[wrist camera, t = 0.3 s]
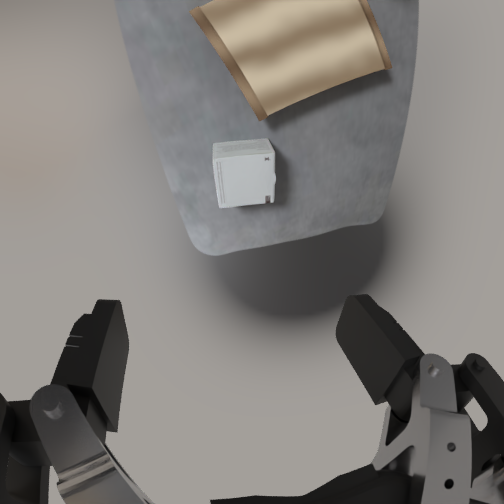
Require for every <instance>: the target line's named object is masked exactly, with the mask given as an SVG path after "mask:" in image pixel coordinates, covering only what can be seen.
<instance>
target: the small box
mask: <svg viewBox="0 0 504 504" xmlns="http://www.w3.org/2000/svg"><path fill="white" fill-rule="evenodd" d="M213 170H214V178H215V185H216V192H217V198H218V204H219V208H227V207H236V206H244V205H253V204H264V203H273V202H274V197H275V182H276V175H275V151H274V149H273V147H272V145H271V143H270V141H269V139H268V138H266V139H255V140H242V141H230V142H221V143H214V144H213Z"/></svg>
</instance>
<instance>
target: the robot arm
mask: <svg viewBox="0 0 504 504" xmlns="http://www.w3.org/2000/svg"><path fill="white" fill-rule="evenodd" d="M336 338H337V341H338V343H339V345H340V346H341V348H342V350H343V352H344V353H345V355H346V356H347V358H348V360H349V361H350V363H351V365H352V366H353V368H354V370H355V371H356V373H357V375H358V376H359V378H360V380H361V382H362V383H363V385H364V386H365V388H366V390H367V391H368V393H369V395H370V396H371V398H372V400H373V402H374V403H375V405H378V404H380V403H384V402H386V401H387V402H388V403H389V406H388V407H387V409H386V412H385V418H384V424H383V429H382V435H381V440H380V445H379V449H378V452H377V454H376V456H375V457H374V459H373V461H372V462H371V464H369V465H367V466H364V467H362V468H359V469H357V470H354V471H351V472H349V473H346V474H343V475H340V476H338V477H336V478H334V479H333V480H331V481H329V482H328V483H326V484H324V485H322V486H321V487H319V488H317V489H315V490H314V491H312V492H310V493H308V494H306V495H303V496H294V497H292V496H291V497H283V496H248V497H240V498H231V499H218V500H210V502H211V504H504V382H503V380H502V379H501V377H500V376H499V375H498V374H497V372H496V371H495V370H494V369H493V368H492V366H491V365H490V364H489V363H488V361H487V360H486V359H485V358H484V357H482V356H480V355H478V354H475V353H471V354H468V355H467V356H466V358H465V359H464V361H463V362H462V364H460V365H450V364H449V362H447V360H446V359H444V358H443V357H441V356H439V355H436V354H426V355H425V354H424V353H423V352H422V350H421V349H420V348H419V347H418V346H417V345H416V343H415V342H414V341H413V340H412V339H411V337H410V336H409V335H408V334H407V333H406V331H405V330H403V328H402V327H401V326H400V325H399V323H397V321H396V320H395V319H394V318H393V317H392V315H391V314H389V312H387V311H386V310H384V309H383V308H381V307H380V306H378V305H377V303H376V302H375V301H374V300H373V299H372V298H371V297H370V296H369V295H368V294H362V295H350V296H348V297H347V299H346V301H345V304H344V307H343V310H342V313H341V316H340V318H339V321H338V324H337V327H336ZM128 351H129V339H128V334H127V328H126V324H125V319H124V315H123V310H122V305H121V302H120V300H102V299H99V300H97V302H96V304H95V307H94V309H93V311H92V314H84V315H83V316H81V317H80V318H79V319H78V321H76V322H75V323H74V326H73V328H72V330H71V332H70V337H69V338H68V339H67V342H66V347H64V349H63V352H62V354H61V357H60V359H59V362H58V365H57V367H56V370H55V373H54V376H53V379H52V381H51V384H50V385H46V386H44V387H41V388H40V389H39V390H37V391H36V392H35V393H34V395H33V396H32V398H31V400H23V401H9V402H7V401H6V399H5V398H4V397H3V396H2V394H1V393H0V504H48V491H49V471H50V470H49V469H50V466H53V467H54V469H55V471H56V473H57V475H58V478H59V482H57V488H58V490H59V493H60V495H61V497H62V499H63V500H64V502H65V504H154V503H153V502H152V501H151V500H150V499H149V498H148V496H147V495H146V494H145V493H144V492H143V491H142V490H141V489H140V488H139V487H138V486H137V484H136V483H135V482H134V481H133V480H132V478H131V477H130V476H129V475H128V473H127V472H126V471H125V470H124V468H123V467H122V466H121V464H120V463H119V462H118V460H117V459H116V457H115V456H114V455H113V453H112V452H111V450H110V449H109V447H108V446H107V444H106V443H105V439H106V431H110V432H117V429H118V420H119V411H120V403H121V394H122V388H123V382H124V374H125V369H126V363H127V357H128ZM473 397H474V398H475V399H476V400H477V402H478V403H479V405H480V406H481V408H482V409H483V411H484V412H485V414H486V415H487V418H488V423H487V426H486V427H485V428H484V429H483V430H482V431H479V430H478V429H477V427H476V426H475V424H474V422H473V421H472V419H471V418H470V416H469V415H468V413H467V412H466V410H465V409H464V407H465V406H466V405H467V404H468V403H469V402H470V401H471V399H472V398H473ZM8 458H9V459H8ZM7 465H8V466H7ZM6 473H7V474H6ZM470 488H471V489H470Z"/></svg>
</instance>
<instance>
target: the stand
mask: <svg viewBox="0 0 504 504" xmlns="http://www.w3.org/2000/svg"><path fill="white" fill-rule="evenodd" d="M189 12H190V14H191V15H192V17H193V18H194V19H195V21H196V22H197V24H198V25H199V26H200V28H201V29H202V31H203V32H204V34H205V35H206V36H207V38H208V39H209V41H210V42H211V44H212V45H213V47H214V48H215V50H216V51H217V53H218V54H219V56H220V57H221V59H222V60H223V62H224V64H225V65H226V67H227V68H228V70H229V71H230V73H231V75H232V76H233V78H234V79H235V81H236V83H237V84H238V86H239V87H240V89H241V91H242V92H243V94H244V96H245V97H246V99H247V101H248V102H249V104H250V106H251V107H252V109H253V111H254V113H255V114H256V116H257V118H258V119H259V121H261V120H263V119H265V118H267V117H268V115H270V114H272V113H274V112H276V111H278V110H280V109H283V108H285V107H287V106H289V105H291V104H293V103H296V102H298V101H300V100H302V99H305V98H307V97H309V96H312V95H314V94H316V93H319V92H321V91H324V90H326V89H329V88H331V87H334V86H336V85H339V84H342V83H344V82H347V81H350V80H353V79H355V78H358V77H361V76H364V75H367V74H370V73H373V72H376V71H379V70H382V69H384V70H387V69H390V68H392V65H391V62H390V59H389V56H388V53H387V50H386V47H385V44H384V41H383V38H382V36H381V33H380V30H379V28H378V25H377V23H376V20H375V18H374V16H373V13H372V11H371V9H370V6H369V4H368V2H367V0H213V1H211V2H209V3H207V4H205V5H203V6H201V7H199V6H198V7H196V8H194V9H192V10H191V11H189Z"/></svg>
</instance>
